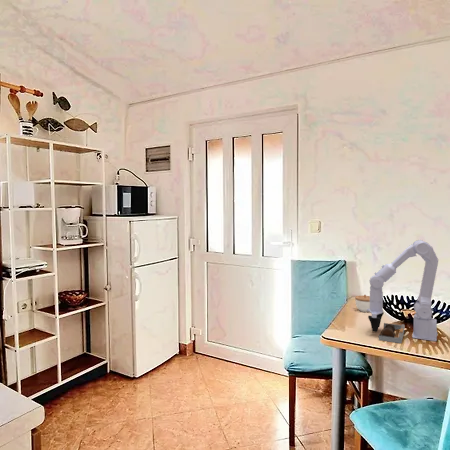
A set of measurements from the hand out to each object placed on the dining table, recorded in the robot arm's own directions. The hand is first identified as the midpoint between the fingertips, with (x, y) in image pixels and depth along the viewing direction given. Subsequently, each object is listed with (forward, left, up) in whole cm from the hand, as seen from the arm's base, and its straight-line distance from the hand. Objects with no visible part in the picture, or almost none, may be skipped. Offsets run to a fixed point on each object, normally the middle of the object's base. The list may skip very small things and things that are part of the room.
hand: (375, 329), depth 171 cm
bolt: (-6, +1, -2) cm, 6 cm away
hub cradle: (-6, 0, -2) cm, 7 cm away
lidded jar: (+11, -38, -2) cm, 39 cm away
